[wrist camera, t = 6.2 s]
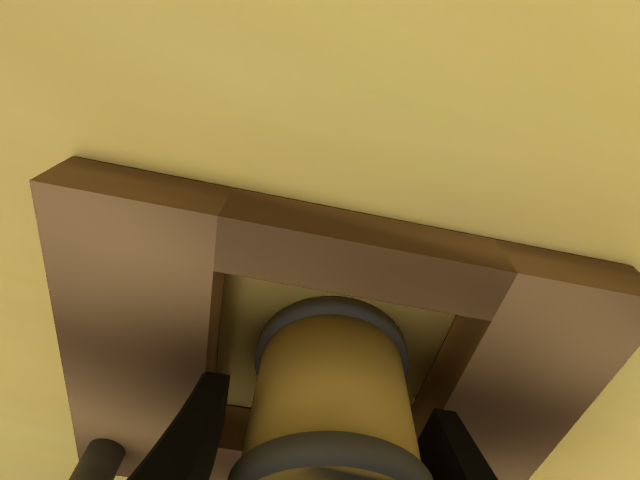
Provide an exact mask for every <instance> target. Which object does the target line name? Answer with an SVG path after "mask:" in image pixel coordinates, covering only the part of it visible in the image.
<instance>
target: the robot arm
mask: <svg viewBox="0 0 640 480" xmlns="http://www.w3.org/2000/svg"><path fill="white" fill-rule="evenodd" d="M229 380H230V375H226V374H219V373H213V372H205V373H203V374H202V375H201V377H200V379H199V381H198V382H197V384H196V386H195V388H194V389H193V391H192V393H191V394H190V396H189V397H188V399H187V400H186V402H185V403H184V405H183V406H182V408H181V409H180V411H179V412H178V414H177V415H176V417H175V418H174V420H173V421H172V422H171V424H170V425H169V426H168V428H167V429H166V430H165V432H164V433H163V434H162V436H161V437H160V439H159V440H158V441H157V443H156V444H155V445H154V447H153V448H152V449H151V450H150V452H149V453H148V454H147V456H146V457H145V458H144V459H143V460H142V462H141V463H140V464H139V465H138V467H137V468H136V469H135V470H134V471H133V473H132V474H131V475H130V476H129V477H128V479H127V480H209V478H210V475H211V472H212V469H213V466H214V463H215V459H216V455H217V450H218V446H219V442H220V438H221V434H222V430H223V426H224V419H225V411H226V403H227V395H228V388H229ZM417 442H418V447H419V453H420V458H421V462H422V463H423V464H424V465H425V466H426V467H427V468H428V470H429V472H430V473H431V475H432V477H433V480H498V478H497V477H496V475H495V474H494V472H493V470H492V469H491V467H490V466H489V464H488V462H487V461H486V459H485V458H484V456H483V454H482V453H481V451H480V450H479V448H478V446H477V445H476V443H475V441H474V440H473V438H472V437H471V435H470V433H469V432H468V430H467V428H466V427H465V425H464V424H463V422H462V420H461V419H460V417H459V416H458V414H457V413H456V411H449V410H443V409H437V408H434V410H433V412H432V413H431V415H430V417H429V419H428V421H427V423H426V425H425V427H424V428H423V430H422V432H421V434H420V436H419V438H418V440H417Z"/></svg>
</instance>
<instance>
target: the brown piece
mask: <svg viewBox="0 0 640 480" xmlns="http://www.w3.org/2000/svg"><path fill="white" fill-rule="evenodd" d="M29 181H30V186H31V192H32V198H33V203H34V209H35V214H36V220H37V226H38V231H39V237H40V243H41V248H42V254H43V260H44V265H45V271H46V277H47V282H48V288H49V294H50V299H51V305H52V310H53V316H54V322H55V327H56V333H57V339H58V344H59V350H60V356H61V361H62V367H63V373H64V378H65V384H66V390H67V395H68V401H69V406H70V412H71V418H72V423H73V429H74V435H75V440H76V446H77V452H78V457H79V462H78V464H77V466H76V468H75V470H74V471H73V473H72V475H71V477H70V478H69V480H114V477H115V475H117V476H124V477H129V476H130V475H131V474H132V473H133V471H134V470H135V469H136V468H137V467H138V465H139V464H140V463H141V462H142V460H143V459H144V458H145V457H146V456H147V454H148V453H149V452H150V450H151V449H152V448H153V447H154V445H155V444H156V443H157V441H158V440H159V439H160V437H161V436H162V434H163V433H164V432H165V430H166V429H167V428H168V426H169V425H170V424H171V422H172V421H173V420H174V418H175V417H176V415H177V414H178V412H179V411H180V409H181V408H182V406H183V405H184V403H185V402H186V400H187V399H188V397H189V396H190V394H191V393H192V391H193V389H194V388H195V386H196V384H197V382H198V381H199V379H200V377H201V375H202V374H203V373H205V372H213V373H215V369H216V359H217V349H218V339H219V329H220V319H221V309H222V298H223V288H224V278H225V273H226V274H232V275H237V276H243V277H248V278H254V279H259V280H265V281H271V282H276V283H282V284H287V285H293V286H298V287H304V288H309V289H315V290H321V291H326V292H332V293H337V294H343V295H348V296H354V297H360V298H365V299H371V300H376V301H382V302H387V303H393V304H398V305H404V306H410V307H415V308H421V309H426V310H432V311H437V312H443V313H449V314H454V315H457V316H456V318H455V320H454V322H453V324H452V326H451V328H450V330H449V332H448V334H447V336H446V339H445V341H444V343H443V345H442V347H441V349H440V351H439V353H438V355H437V357H436V359H435V361H434V363H433V365H432V367H431V369H430V371H429V373H428V375H427V377H426V380H425V382H424V384H423V386H422V388H421V390H420V392H419V394H418V396H417V398H416V400H415V402H414V404H413V406H412V408H411V411H412V417H413V422H414V427H415V432H416V437H417V440H418V438H419V436H420V434H421V432H422V430H423V428H424V427H425V425H426V423H427V421H428V419H429V417H430V415H431V413H432V412H433V410H434V408H437V409H443V410H449V411H456V413H457V414H458V416H459V417H460V419H461V420H462V422H463V424H464V425H465V427H466V428H467V430H468V432H469V433H470V435H471V437H472V438H473V440H474V441H475V443H476V445H477V446H478V448H479V450H480V451H481V453H482V454H483V456H484V458H485V459H486V461H487V462H488V464H489V466H490V467H491V469H492V470H493V472H494V474H495V475H496V477H497V478H498V480H528V479H529V478H530V477H531V476H532V475H533V473H534V472H535V471H536V470H537V469H538V467H539V466H540V465H541V464H542V463H543V461H544V460H545V459H546V458H547V457H548V455H549V454H550V453H551V452H552V451H553V449H554V448H555V447H556V446H557V445H558V443H559V442H560V441H561V440H562V439H563V437H564V436H565V435H566V434H567V433H568V431H569V430H570V429H571V428H572V426H573V425H574V424H575V423H576V422H577V420H578V419H579V418H580V417H581V416H582V414H583V413H584V412H585V411H586V410H587V408H588V407H589V406H590V405H591V404H592V402H593V401H594V400H595V399H596V398H597V396H598V395H599V394H600V393H601V392H602V390H603V389H604V388H605V387H606V386H607V384H608V383H609V382H610V381H611V380H612V378H613V377H614V376H615V375H616V374H617V372H618V371H619V370H620V369H621V368H622V366H623V365H624V364H625V363H626V362H627V360H628V359H629V358H630V357H631V356H632V354H633V353H634V352H635V351H636V350H637V348H638V347H639V346H640V272H638V271H637V270H636V269H635V268H634V267H633V266H629V265H624V264H619V263H614V262H609V261H604V260H599V259H594V258H588V257H583V256H578V255H573V254H568V253H563V252H558V251H553V250H548V249H543V248H537V247H532V246H527V245H522V244H517V243H512V242H507V241H502V240H497V239H492V238H486V237H481V236H476V235H471V234H466V233H461V232H456V231H451V230H446V229H441V228H435V227H430V226H425V225H420V224H415V223H410V222H405V221H400V220H395V219H389V218H384V217H379V216H374V215H369V214H364V213H359V212H354V211H349V210H344V209H338V208H333V207H328V206H323V205H318V204H313V203H308V202H303V201H298V200H293V199H287V198H282V197H277V196H272V195H267V194H262V193H257V192H252V191H247V190H241V189H236V188H231V187H226V186H221V185H216V184H211V183H206V182H201V181H196V180H190V179H185V178H180V177H175V176H170V175H165V174H160V173H155V172H150V171H145V170H139V169H134V168H129V167H124V166H119V165H114V164H109V163H104V162H99V161H94V160H88V159H83V158H78V157H73V156H72V157H70V158H68V159H67V160H65V161H63V162H61V163H59V164H58V165H56V166H54V167H52V168H50V169H49V170H47V171H45V172H43V173H42V174H40V175H38V176H36V177H34V178H33V179H31V180H29ZM250 412H251V409H248V408H241V407H235V406H228V405H226V411H225V419H224V426H223V430H222V434H221V438H220V442H219V446H218V450H217V455H216V459H215V463H214V466H213V469H212V472H211V475H210V478H209V480H227V479H228V476H229V473H230V471H231V469H232V467H233V466H234V464H235V463H236V462H237V461H238V460H239V459H240V458H241V455H242V450H243V445H244V441H245V436H246V431H247V426H248V421H249V416H250Z"/></svg>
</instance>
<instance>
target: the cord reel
mask: <svg viewBox="0 0 640 480" xmlns="http://www.w3.org/2000/svg"><path fill="white" fill-rule="evenodd" d="M255 368H256V373H257V376H258V378H257V383H256V387H255V392H254V397H253V402H252V407H251V412H250V416H249V421H248V426H247V431H246V436H245V441H244V445H243V450H242V455H241V458H240V459H239V460H238V461H237V462H236V463H235V464H234V466H233V467H232V469H231V471H230V473H229V476H228V479H227V480H433V477H432V475H431V473H430V472H429V470H428V468H427V467H426V466H425V465H424V464H423V463H422V462H421V458H420V453H419V447H418V442H417V437H416V432H415V427H414V422H413V417H412V411H411V406H410V401H409V396H408V391H407V386H406V381H405V378H406V375H407V371H408V357H407V351H406V347H405V342H404V339H403V336H402V333H401V331H400V329H399V328H398V326H397V325H396V324H395V322H394V321H393V320H392V319H391V318H390V317H389V316H388V315H387V314H385V313H384V312H383V311H381V310H380V309H378V308H376V307H375V306H373V305H371V304H368V303H366V302H363V301H360V300H357V299H353V298H348V297H341V296H320V297H313V298H308V299H304V300H301V301H298V302H295V303H293V304H291V305H289V306H287V307H285V308H283V309H282V310H280V311H279V312H278V313H276V314H275V315H274V316H273V317H272V318H271V319H270V320H269V321H268V323H267V324H266V325H265V327H264V329H263V330H262V332H261V335H260V338H259V342H258V346H257V351H256V356H255Z"/></svg>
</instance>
